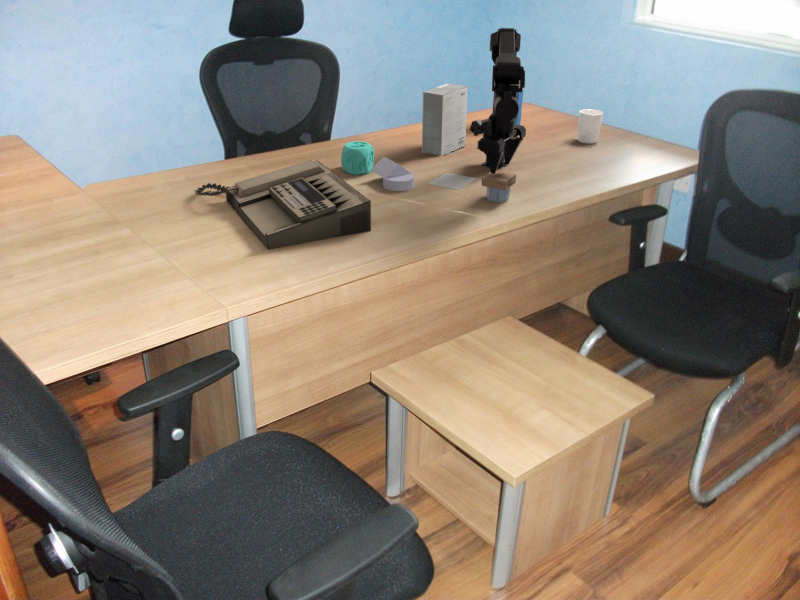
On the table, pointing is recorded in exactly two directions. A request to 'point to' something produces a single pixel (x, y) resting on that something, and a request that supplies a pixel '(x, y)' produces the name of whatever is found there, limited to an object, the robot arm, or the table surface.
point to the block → (499, 180)
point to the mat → (452, 181)
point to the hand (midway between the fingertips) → (499, 168)
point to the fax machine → (297, 205)
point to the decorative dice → (357, 157)
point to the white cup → (589, 125)
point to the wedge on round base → (394, 175)
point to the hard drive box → (444, 119)
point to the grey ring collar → (497, 194)
